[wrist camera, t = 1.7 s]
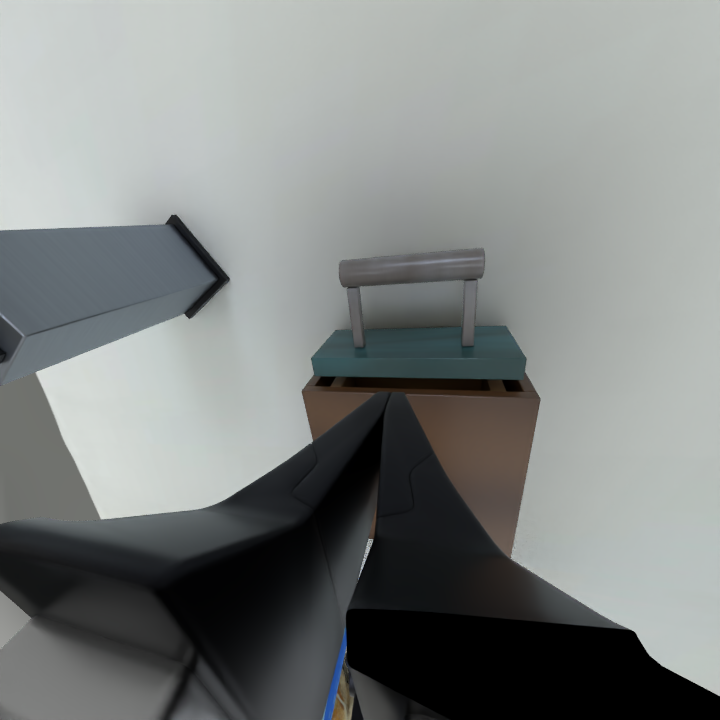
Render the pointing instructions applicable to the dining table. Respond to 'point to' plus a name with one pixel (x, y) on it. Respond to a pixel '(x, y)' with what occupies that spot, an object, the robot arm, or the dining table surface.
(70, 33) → the dining table surface
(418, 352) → the drawer
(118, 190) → the dining table surface
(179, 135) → the dining table surface
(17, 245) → the grey box with handle
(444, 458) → the cabinet
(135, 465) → the dining table surface
